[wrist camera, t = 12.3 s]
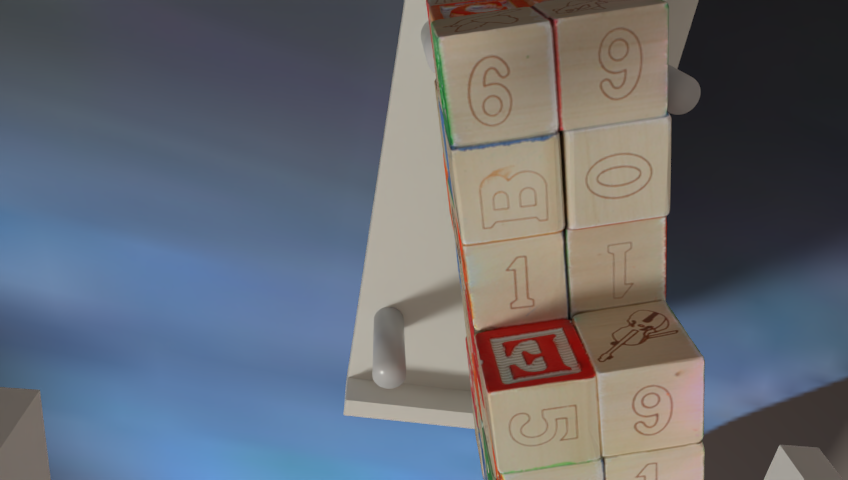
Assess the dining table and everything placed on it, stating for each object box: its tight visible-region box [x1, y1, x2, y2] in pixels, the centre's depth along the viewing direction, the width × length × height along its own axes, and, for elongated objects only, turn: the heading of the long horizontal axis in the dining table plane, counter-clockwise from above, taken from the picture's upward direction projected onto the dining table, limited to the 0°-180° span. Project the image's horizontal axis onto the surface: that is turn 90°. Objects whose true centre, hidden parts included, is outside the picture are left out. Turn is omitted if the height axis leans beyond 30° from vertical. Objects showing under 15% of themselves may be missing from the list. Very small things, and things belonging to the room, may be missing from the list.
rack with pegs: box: [344, 0, 701, 429], centre depth 34 cm, size 25×13×6 cm, turn 170°
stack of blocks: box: [426, 0, 705, 480], centre depth 26 cm, size 21×6×12 cm, turn 7°
